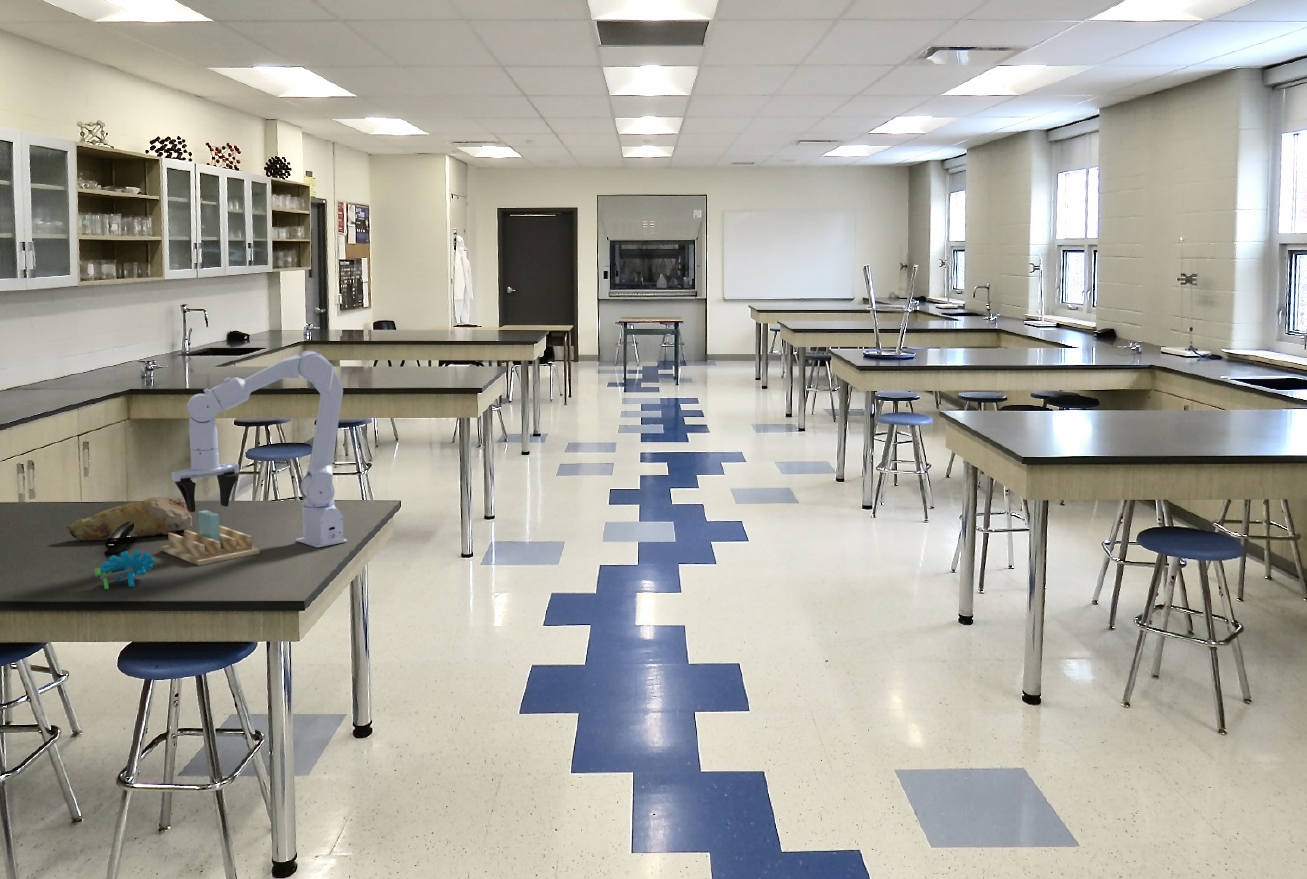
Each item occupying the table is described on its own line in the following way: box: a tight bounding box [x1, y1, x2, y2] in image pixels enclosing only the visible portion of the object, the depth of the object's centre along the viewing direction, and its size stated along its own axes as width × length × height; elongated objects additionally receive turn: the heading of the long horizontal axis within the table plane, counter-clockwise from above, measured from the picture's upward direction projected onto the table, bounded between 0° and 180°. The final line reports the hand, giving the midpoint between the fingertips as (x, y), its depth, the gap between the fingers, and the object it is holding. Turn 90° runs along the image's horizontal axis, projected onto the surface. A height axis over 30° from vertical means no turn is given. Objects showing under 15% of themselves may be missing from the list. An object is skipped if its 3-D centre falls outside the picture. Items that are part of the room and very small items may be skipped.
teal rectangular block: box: [197, 509, 220, 542], centre depth 251 cm, size 6×2×8 cm, turn 47°
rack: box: [161, 524, 261, 566], centre depth 251 cm, size 18×14×4 cm
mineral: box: [67, 494, 194, 542], centre depth 265 cm, size 26×9×10 cm
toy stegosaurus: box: [94, 549, 156, 590], centre depth 225 cm, size 11×6×10 cm
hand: (208, 508), depth 250 cm, fingers open, 7 cm apart
